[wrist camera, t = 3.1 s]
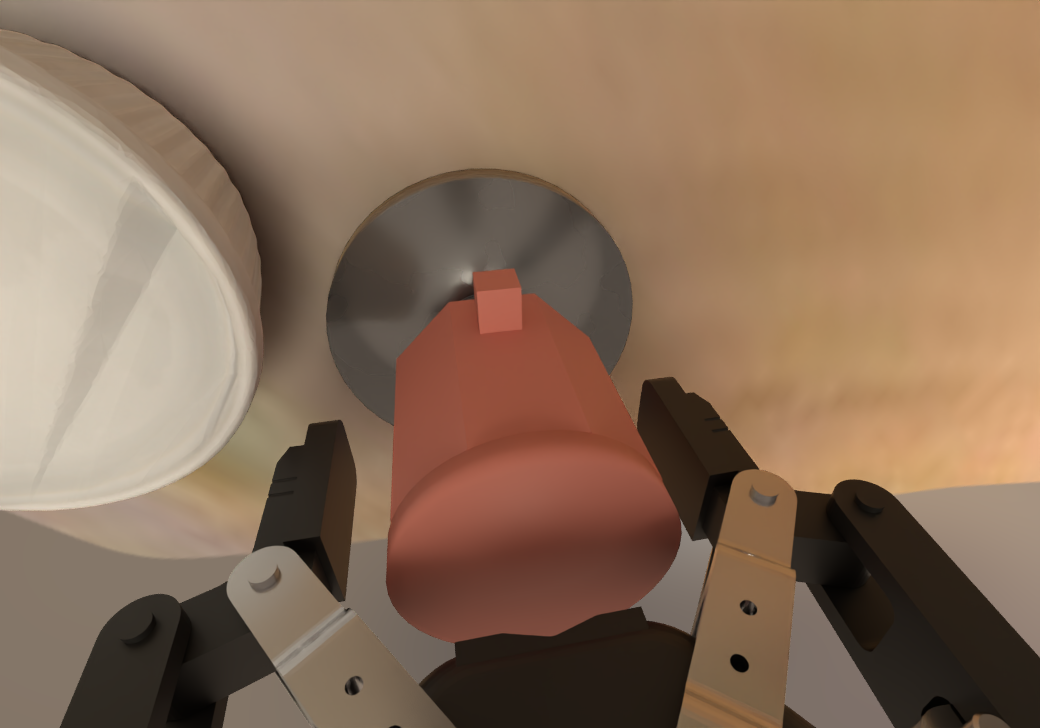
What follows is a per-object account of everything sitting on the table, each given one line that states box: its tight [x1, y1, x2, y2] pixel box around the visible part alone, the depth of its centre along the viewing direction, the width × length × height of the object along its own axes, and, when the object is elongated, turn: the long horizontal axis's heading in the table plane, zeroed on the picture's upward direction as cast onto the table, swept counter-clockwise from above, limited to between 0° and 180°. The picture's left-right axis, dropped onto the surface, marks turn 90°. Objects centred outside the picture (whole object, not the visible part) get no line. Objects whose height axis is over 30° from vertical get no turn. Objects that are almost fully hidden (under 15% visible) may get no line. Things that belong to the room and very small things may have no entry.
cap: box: [386, 268, 682, 643], centre depth 13 cm, size 8×6×6 cm
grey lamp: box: [326, 169, 633, 426], centre depth 15 cm, size 10×10×9 cm
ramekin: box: [0, 29, 264, 511], centre depth 12 cm, size 11×11×5 cm
